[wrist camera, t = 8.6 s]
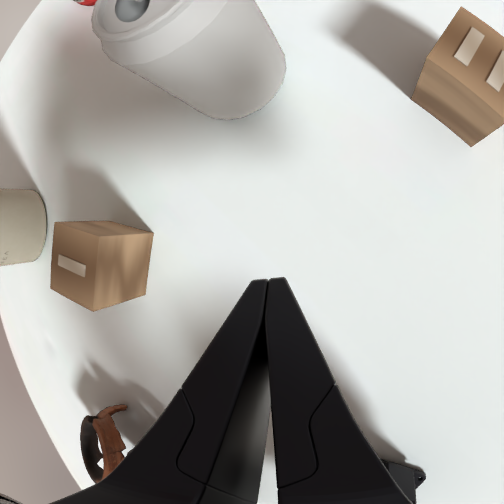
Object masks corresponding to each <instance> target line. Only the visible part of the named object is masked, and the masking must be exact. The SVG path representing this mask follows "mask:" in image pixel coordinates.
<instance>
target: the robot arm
mask: <svg viewBox="0 0 504 504" xmlns="http://www.w3.org/2000/svg"><path fill="white" fill-rule="evenodd" d="M270 407H271V411H272V425H273V438H274V451H275V465H276V478H277V488H278V504H416V491H415V489H416V488H417V487H419V486H420V485H421V484H422V483H423V481H424V480H425V479H426V474H425V473H424V472H421V471H417V470H414V469H412V468H408V467H405V466H402V465H399V464H396V463H392V462H388V461H385V460H382V459H380V458H379V457H378V455H377V454H376V452H375V451H374V449H373V448H372V446H371V445H370V443H369V442H368V440H367V439H366V437H365V436H364V434H363V432H362V431H361V429H360V428H359V426H358V424H357V423H356V421H355V419H354V418H353V416H352V414H351V412H350V410H349V408H348V406H347V404H346V402H345V400H344V398H343V396H342V394H341V392H340V390H339V387H338V385H336V381H335V379H334V377H333V375H332V373H331V371H330V369H329V367H328V365H327V362H326V360H325V358H324V356H323V354H322V352H321V350H320V348H319V346H318V344H317V341H316V339H315V337H314V335H313V333H312V331H311V329H310V327H309V325H308V323H307V321H306V319H305V317H304V314H303V312H302V310H301V308H300V306H299V304H298V302H297V300H296V298H295V296H294V294H293V292H292V290H291V288H290V286H289V284H288V282H287V280H286V278H285V277H279V278H271V279H269V280H268V279H258V280H253V281H251V282H250V284H249V285H248V287H247V288H246V290H245V292H244V293H243V295H242V296H241V298H240V299H239V301H238V302H237V304H236V305H235V307H234V308H233V310H232V311H231V313H230V314H229V316H228V317H227V319H226V320H225V322H224V323H223V325H222V326H221V328H220V329H219V331H218V332H217V334H216V335H215V337H214V339H213V340H212V342H211V343H210V345H209V346H208V348H207V349H206V351H205V352H204V354H203V355H202V357H201V358H200V360H199V361H198V363H197V364H196V365H195V367H194V368H193V370H192V371H191V373H190V374H189V376H188V377H187V379H186V380H185V382H184V383H183V385H182V389H179V390H178V392H177V393H176V395H175V396H174V398H173V399H172V401H171V402H170V404H169V405H168V406H167V408H166V409H165V411H164V412H163V413H162V415H161V416H160V417H159V419H158V420H157V421H156V422H155V424H154V425H153V426H152V427H151V428H150V430H149V431H148V432H147V433H146V434H145V436H144V437H143V438H142V439H141V440H140V441H139V442H138V443H137V445H136V446H135V447H134V448H133V449H132V450H131V451H130V452H129V454H128V455H127V456H126V457H125V458H124V459H123V460H122V461H121V463H120V464H119V465H118V466H117V467H116V468H115V469H114V470H113V471H112V472H111V473H110V474H109V475H108V476H107V477H105V478H104V479H103V480H101V481H100V482H98V483H96V484H95V485H93V486H91V487H88V488H86V489H84V490H82V491H79V492H77V493H75V494H72V495H70V496H67V497H65V498H63V499H60V500H58V501H55V502H52V503H50V504H257V501H258V494H259V487H260V481H261V474H262V467H263V460H264V453H265V445H266V438H267V431H268V423H269V415H270ZM419 477H421V478H419ZM0 504H22V503H20V502H18V501H16V500H14V499H12V498H10V497H8V496H6V495H4V494H1V493H0Z"/></svg>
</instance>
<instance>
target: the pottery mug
mask: <svg viewBox="0 0 504 504" xmlns="http://www.w3.org/2000/svg"><path fill="white" fill-rule="evenodd" d="M126 409H127V406H126V405H114V406H111V407H107V408H105V409H104V410H102V411H101V412H99V413H98V414H97V415H96V416H89V415H87V416H86V417H85V418H84V420H83V421H82V425H81V433H80V441H81V451H82V456H83V460H84V464H85V467H86V469H87V471H88V474H89V475H90V477H91V479H92V480H93V481H94V482H95V483H98V482H100V481H101V480H103V479H104V478H105V477H107V476H108V475H109V474H110V473H111V472H112V471H113V470H114V469H115V468H116V467H117V466H118V465H119V464H120V463H121V461H122V460H123V459H124V458H125V457H124V455H123V454H122V451H123V450H124V449H126V446H125V444H124V442H123V441H122V439H121V435H120V433H119V431H118V430H117V429H116V427H115V424H114V421H113V419H112V417H111V415H113V414H114V413H116V412H119V411H124V410H126ZM97 435H98V436H97ZM98 438H99V441H100V445H101V449H102V453H103V454H102V453H101V452H100V450H99V448H98ZM130 451H131V450H130ZM130 451H129V452H130ZM129 452H128V453H127V455H128V454H129ZM102 458H103V462H104V470H103V469H102V468H101V467H99V466H98V465H97V463H98V462H99V461H100V459H102Z"/></svg>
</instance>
